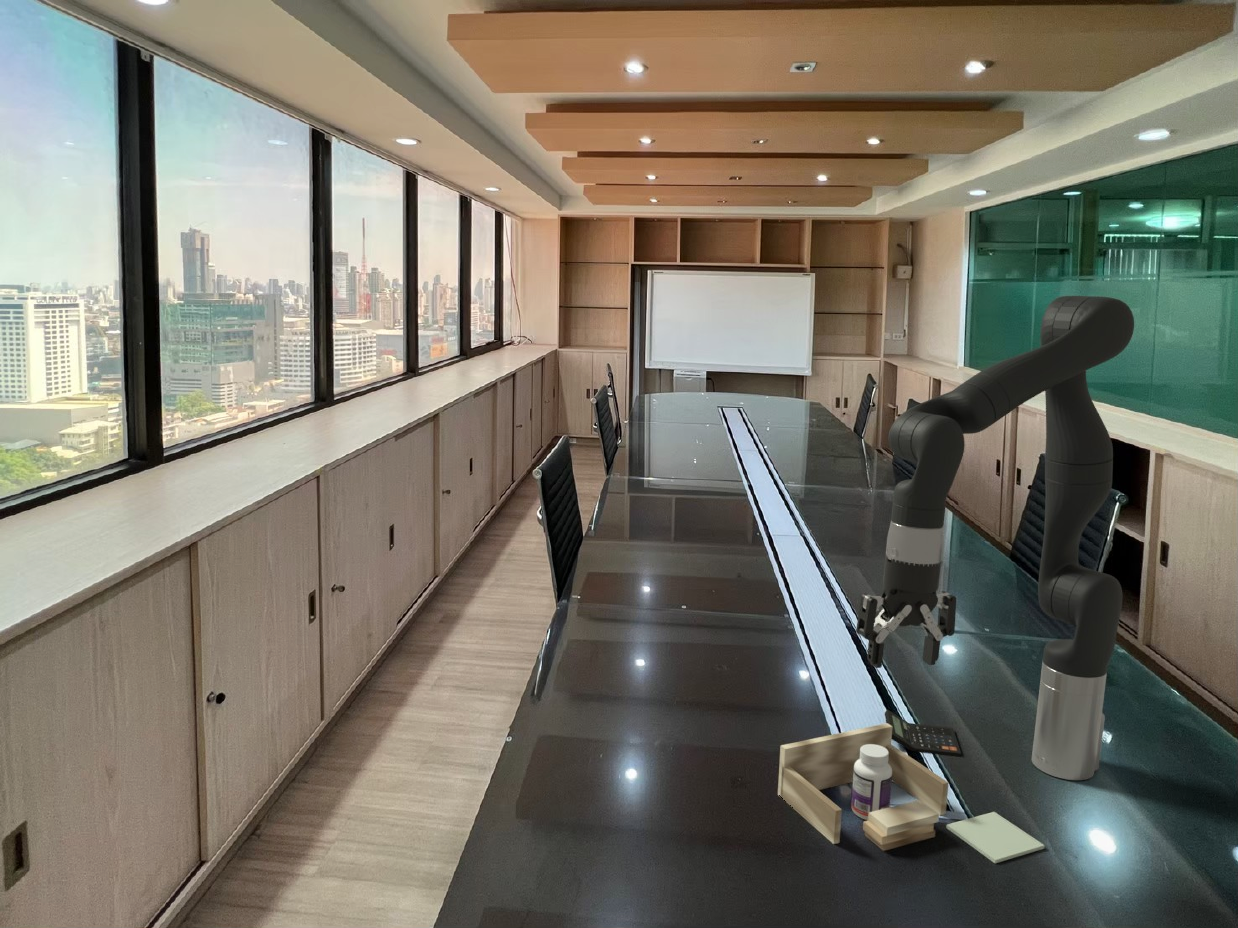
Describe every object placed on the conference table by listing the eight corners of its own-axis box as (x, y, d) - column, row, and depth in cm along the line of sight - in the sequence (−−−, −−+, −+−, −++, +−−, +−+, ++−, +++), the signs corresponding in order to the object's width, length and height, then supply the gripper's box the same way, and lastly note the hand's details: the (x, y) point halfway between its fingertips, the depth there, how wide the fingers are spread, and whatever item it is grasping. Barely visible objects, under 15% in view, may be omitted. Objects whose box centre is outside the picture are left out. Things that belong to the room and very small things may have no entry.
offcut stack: (917, 822, 133) (919, 799, 132) (936, 837, 129) (939, 814, 129) (862, 837, 129) (863, 813, 128) (880, 852, 126) (882, 828, 125)
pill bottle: (882, 801, 138) (887, 741, 136) (894, 822, 133) (899, 759, 131) (846, 801, 138) (850, 741, 136) (856, 822, 132) (861, 759, 131)
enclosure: (883, 769, 147) (887, 723, 146) (945, 814, 135) (950, 763, 133) (777, 794, 139) (780, 745, 138) (833, 844, 127) (837, 790, 125)
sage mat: (993, 814, 135) (994, 811, 135) (1044, 848, 127) (1044, 845, 127) (946, 827, 131) (946, 824, 131) (995, 863, 123) (995, 860, 123)
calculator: (960, 758, 152) (962, 741, 152) (887, 749, 154) (889, 733, 154) (952, 732, 161) (953, 716, 161) (883, 724, 164) (884, 709, 163)
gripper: (942, 547, 135) (931, 653, 137) (854, 548, 131) (844, 657, 134) (974, 561, 128) (961, 672, 130) (881, 562, 124) (870, 677, 127)
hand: (902, 664), depth 132 cm, fingers open, 8 cm apart
